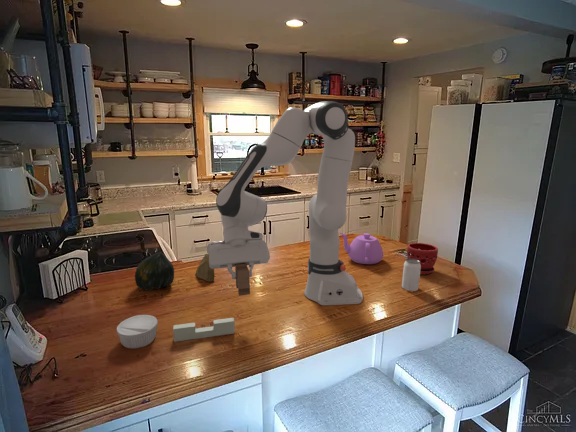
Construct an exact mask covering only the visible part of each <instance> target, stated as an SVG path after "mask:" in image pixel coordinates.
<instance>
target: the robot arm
mask: <svg viewBox="0 0 576 432" xmlns="http://www.w3.org/2000/svg"><path fill="white" fill-rule="evenodd" d="M348 117H349V116H348V113H347V110H346V108H345V107H344V106H343V105H342V104H341V103H340V102H337V101H332V100H328V101H325V100H324V101H319V102H316V103H312V104H310V105H308V106H306V107H305V108H303V109H301V108H299V107H288V108H287V109H285V111H284V112H283V113H282V115H281V116H280V117H279V119H278V121H276V123H275V125H274V126H273V128H272V130H271V133H270V134H269V136H268V137H267V138H266V139H265V140H264V141H263V142H262V143H259V144H257V145H255V146H253V148H252V149H251V150H250V151H249V152H248V154H247V155H246V156H245V158H244V159H243V160H242V163H240V165H239V167H238V168H237V169H236V171H235V172H234V173H233V175H232V176H231V178H230V179H229V181H228V182H227V183H226V184H225V185H224V186H223V187H222V188H221V190H220V191H219V192H218V193H217V195H216V199H215V204H216V207H217V209H218V212H219V213H220V215H221V216H220V218H221V224H222V227H223V231H222V235H223V240H220V241H211V242H210V243H209V244H207V246H206V254H209V267H210V268H211V269H214V270H217V269H225V268H226V269H227V271H228V273H229V274H230V275H231V279H232V280H236V279H237V273H236V272H235V271H234V270H233V268H235V264H242V263H246V265H247V266H248V269H249V278H251V277H253V272H252V271H253V269H254V266H255V265H262V264H268V263H269V260H270V258H271V255H270V254H271V253H270V251H269V248H268V247H269V246H268V245H267V242H266V241H265V240H263V238H264V235H263V233H261V232H258V231H254V230H253V231H252V230H249V227H253V226H255V225H257V224H259V223H261V222H262V221H263V220H264V219H265V218H266V216H267V215H268V214H267V212H268V205H267V201H266V200H265V199H264V198H262V197H260V196H258V195H255V194H253V193H251V192H248V191H246V190H245V189H246V188H247V186H248V185H249V183H250V182H251V181H252V179H253V177H254V176H255V175H256V173H257V172H258V171H259V170H260V169H261V168H264V167H269V166H270V167H271V166H272V167H274V166H275V167H278V166H279V167H280V166H285V165H288V164H291V163H292V162H293V160H295V158H296V157H297V155H298V154H299V152H300V150H301V147H302V145H303V143H304V141H305V140H306V139H307V137H308V136H309V135H310V134H311V135H317V136H321V137H322V139H323V149H322V154H321V158H320V164H319V168H318V174H317V187H316V188H317V190H316V191H317V192H316V194H315V195H313V196H312V197H311V198H310V199H309V202H308V221H309V222H308V223H309V224H308V225H309V239H310V240H309V258H308V261H307V273H308V275H307V281H306V286H305V289H304V292H303V294H304V296H305V297H306V298H307V299H308V300H311V301H314V302H316V304H319V305H321V306H337V305H338V306H340V305H359V304H361V303H362V302H363V299H364V298H363V293H362V290H361V289H360V288H359V287H358V285H357V284H358V283H357V282H356V279H355V278H354V276H353V275H351V274H350V273H348V272H347V271H346V265H345V264H344V262H343V260H342V259H339V258H340V256H339V255H340V236H339V235H340V234H339V229H341V228H342V227H343V226H344V225H345V224H346V220H347V203H348V202H347V200H348V188H349V187H348V184H349V179H350V175H351V170H352V165H353V161H354V155H355V148H356V147H355V146H356V135H355V132H354V131H353V130H352V129H350V128H349V127H350V126H349V119H348Z"/></svg>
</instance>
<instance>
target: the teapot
mask: <svg viewBox="0 0 576 432" xmlns="http://www.w3.org/2000/svg"><path fill="white" fill-rule="evenodd" d="M339 235H341V236H342V237H343V249H344V251H345V252H346V253H347V256H348V257H349V258H350V260H351V261H352V262H354V263H356V264H357V263H358V264H362V265H375V264H378V263H380V262H381V261H382V260H383V258H384V250H383V246H382V245H381V243H380V241H379V240H378V238H377V237H375V236H373V235H372V234H371V233H367V232H364V233H363V234H360V235H357V236H356V237H355V238H354V239H353V240H352V241H351V243H350V244H349V243H348V242H349V241H348V236H347V235H346V234H345V233H343V232H339Z"/></svg>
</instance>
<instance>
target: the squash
mask: <svg viewBox="0 0 576 432" xmlns="http://www.w3.org/2000/svg"><path fill="white" fill-rule="evenodd" d="M174 278H175V268H174V265H173V263H172V262H171V261H170V260H169V258H168V257H167V256H166V255H165V254H164V253H163V252H156V253H154V254H152V255H149V256H148V257H146V258H145V259H143V260H140V262H139V263H138V265H137V267H136V269H135V273H134V281H135V284H136V287H138V288H139V289H140V290H146V291H152V290H154V289H155V290H159V289H162V288H165V287H169V286H171V285H172V284H173V282H174Z"/></svg>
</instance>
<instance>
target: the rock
mask: <svg viewBox="0 0 576 432" xmlns="http://www.w3.org/2000/svg"><path fill="white" fill-rule="evenodd" d="M194 275H195V276H196V277H197V278H198V279H201V280H203V281H207V282H209V283H211V282H214V281H215V269H211V268H210V267H209V254H208V253H205V254H204V256H203V257H202V259H201V261H200V263H199V265H198V266H197V269H196V271H195V274H194Z"/></svg>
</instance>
